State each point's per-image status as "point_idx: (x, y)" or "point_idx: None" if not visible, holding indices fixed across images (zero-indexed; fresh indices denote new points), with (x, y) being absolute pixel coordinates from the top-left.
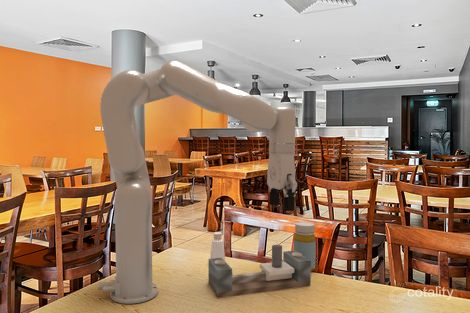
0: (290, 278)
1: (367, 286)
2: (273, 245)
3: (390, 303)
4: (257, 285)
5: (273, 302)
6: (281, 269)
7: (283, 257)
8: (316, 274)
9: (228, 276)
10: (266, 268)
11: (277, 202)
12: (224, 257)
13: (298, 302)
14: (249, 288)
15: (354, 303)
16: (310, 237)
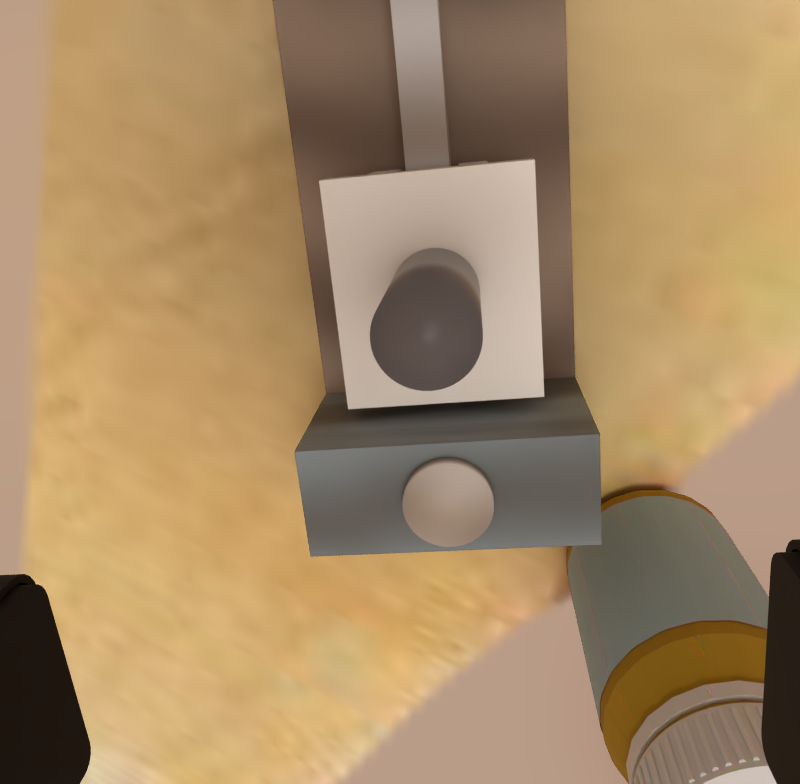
0: None
1: (281, 749)
2: (460, 308)
3: None
4: (319, 72)
5: (128, 133)
6: (350, 303)
7: (586, 414)
8: (523, 585)
9: None
10: (400, 183)
11: (784, 747)
12: None
13: (116, 294)
14: None
15: (81, 579)
16: (617, 757)
